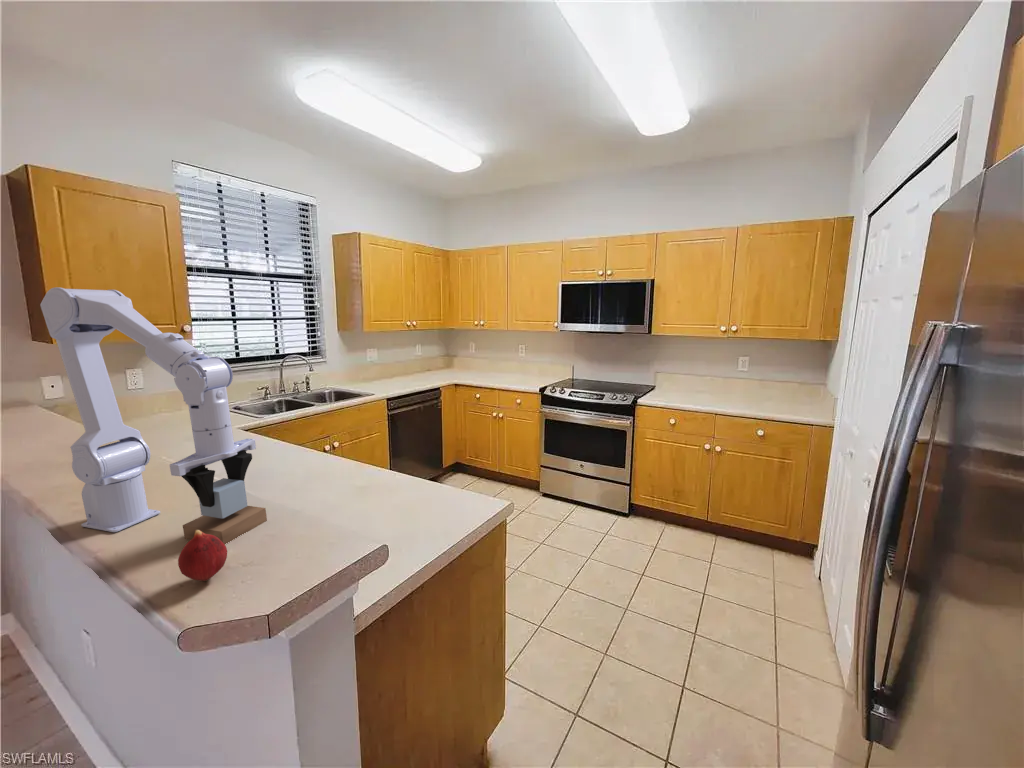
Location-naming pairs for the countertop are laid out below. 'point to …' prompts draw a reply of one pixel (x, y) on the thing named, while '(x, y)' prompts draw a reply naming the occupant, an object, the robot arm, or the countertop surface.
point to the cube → (226, 498)
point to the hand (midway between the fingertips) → (223, 499)
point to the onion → (202, 556)
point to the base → (227, 524)
